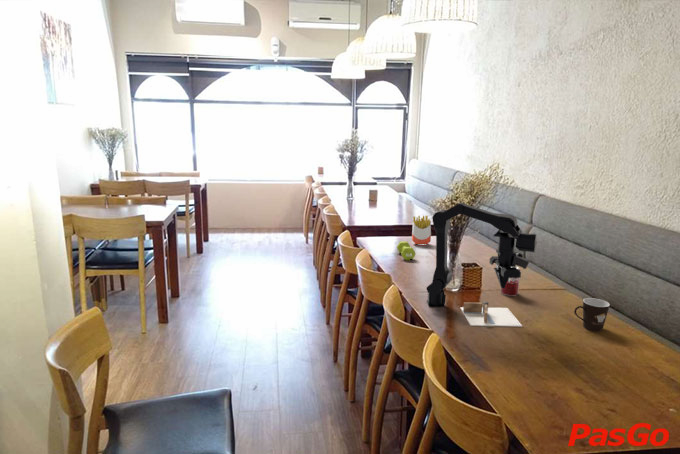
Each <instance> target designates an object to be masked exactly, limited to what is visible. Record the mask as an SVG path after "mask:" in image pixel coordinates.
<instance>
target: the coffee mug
mask: <svg viewBox="0 0 680 454" xmlns="http://www.w3.org/2000/svg"><path fill="white" fill-rule="evenodd" d="M610 305H611V304H610V303H609V302H608V301H606V300H604V299H601V298H600V299H599V298H595V297H593V298H592V297H588V298H587V297H586V298H583V300H582V305H580V306H579V305H578V306H576V307H575V308H574V311H573V312H574V313H573V314H574V316H576V317H577V318H578V319H580V320H581V321H582V326H583V329H586V330H588V331H590V332H594V333H596V332H597V333H600V332H602V331H603V329H604V326H605V323H606V320H607V316H608V312H609V309H610ZM578 309H582V317H580V316H579V315H578V314H577V311H578Z"/></svg>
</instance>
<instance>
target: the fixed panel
mask: <svg viewBox="0 0 680 454" xmlns="http://www.w3.org/2000/svg"><path fill="white" fill-rule="evenodd" d="M485 304H486V305H487V311H488V308H489V302H488V301H483V302H469V301H467V302H465V301H463V307H464V309H463V311H464V312H482V308H483V313H484V306H485Z"/></svg>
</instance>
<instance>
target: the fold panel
mask: <svg viewBox="0 0 680 454" xmlns="http://www.w3.org/2000/svg"><path fill="white" fill-rule="evenodd" d="M487 314H488V311H487V305H486V304H485V306H484V322H485V323H487Z"/></svg>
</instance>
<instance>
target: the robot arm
mask: <svg viewBox="0 0 680 454" xmlns="http://www.w3.org/2000/svg"><path fill="white" fill-rule="evenodd" d="M459 215H463V216H466V217H469V218H471V219H475V220H478V221H481V222H484V223H487V224H489V225H491V226H493V227H494V228H495V229H497V231H496V232H495V233H494V234H493V237H496V238H497V237H498V244H497V245H498V247H497V249H496V250H495V253H496V254H497V255H495V256H494V255H493V256H491V257H490V258H489V264H490V265H492V266H493V265H494V264H495V267H493V271H494V272H495V274H496V277H497V280H498V283H499V285H500V289H501V288H505V286H506V283H507V281H508V279H509V278H521V276H522V272H521V270H520V271H519V270H518V269H517V268H516V267H519V268H522V269H523V270H527V267H528V265H529V264H530V261H529V260H528V259H527V258H525V257H523V254H522V253H521V252H525V253H526V252H528V253H536V251H537V250H536V249H537V244H538V240H537V233H526V232H523V231H522V229H521V228H520V227H519V225H518V219H517V218H516V216H514V215H513V214H512V215H511V214H507V213H495V212H491V211H488V210H485V209H482V208H479V207H476V206H472V205H469V204H467V203H465V202H458V203H457V204H456V205H454V206H452V207H450V208H449V209H441V210H438V211H437V212H435V213H434V214H433V216H432V218H431V219H432V223H433V224H432V225H433V229H434V231H435V244H436V245H435V247H436V249H435V255H436V257H435V270H434V272H433V277H432V281H431V283H429V284H428V285H427V286H426V292H427V299H426V303H427V305H428V307H429V308H445V306H446V305H445V304H446V296H447V295H446V293H445V290H444V289H446V287H448V285H449V284H450V283H451V281H452V280H453V276H452V274H453V270H452V269H449V268H448V231H449V229H450V225H451V221H452V219H453V218H454V217H457V216H459ZM515 248H516V249H517V250H518V252H517V253H516V252H515ZM519 251H521V252H519ZM511 266H512V267H511Z"/></svg>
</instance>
